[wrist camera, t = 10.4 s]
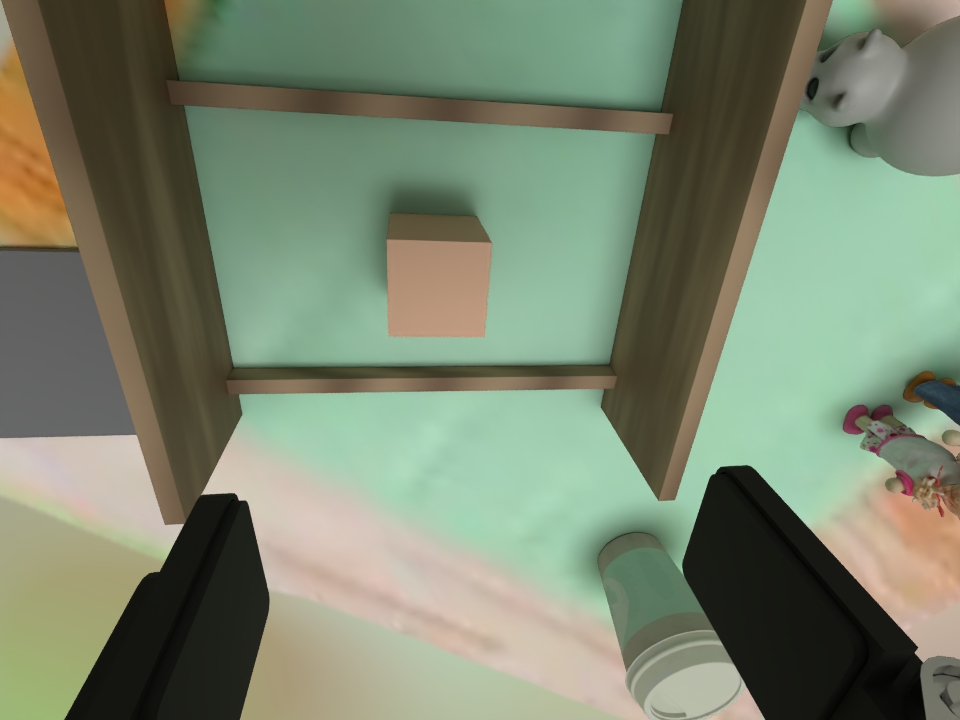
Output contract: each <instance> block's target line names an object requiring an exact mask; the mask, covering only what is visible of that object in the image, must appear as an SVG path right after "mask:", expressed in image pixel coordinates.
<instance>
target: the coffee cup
mask: <svg viewBox="0 0 960 720" xmlns="http://www.w3.org/2000/svg"><path fill="white" fill-rule="evenodd" d="M598 566H599V570H600V574H601V578H602V582H603V586H604V589H605V593H606V597H607V601H608V604H609V608H610V612H611V616H612V619H613V623H614V627H615V631H616V634H617V638H618V642H619V646H620V649H621V653H622V657H623V661H624V664H625V668H626V672H627V674H626V679H625V682H626V687H627V689H628V690H629V692H630V693H631V696H632V698H633V699H634V701H635V702H636V703H637V704H639V705H640V707H641V708H642V710H643V711H644V713H645V714H646V715H647V717H648V718H649V719H651V720H705V719H707V718H710V717H712V716H714V715H716V714H718V713H720V712H722V711H723V710H725V709H727V708H728V707H729V706H731V705H732V704H733V703H734V702H735V701H737V700H738V698H739V697H740V696H741V695H742V694H743V692H744V690H745V688H746V685H745V683H744V681H743V680H742V678H741V676H740V674H739V673H738V671H737V669H736V667H735V666H734V664H733V662H732V660H731V659H730V657H729V655H728V653H727V651H726V650H725V648H724V646H723V644H722V643H721V641H720V639H719V637H718V636H717V634H716V632H715V630H714V629H713V627H712V625H711V623H710V622H709V620H708V618H707V616H706V615H705V613H704V611H703V609H702V608H701V606H700V604H699V602H698V600H697V599H696V597H695V595H694V593H693V592H692V590H691V588H690V586H689V585H688V583H687V581H686V579H685V577H684V576H683V574H682V573H681V572H680V570H679V569H678V567H677V566H676V565H675V563H674V562H673V561H672V559H671V558H670V557H669V555H668V554H667V553H666V551H665V550H664V549H663V547H662V546H661V544H660V543H659V542H658V540H657V539H656V538H654V537H653V536H651V535H649V534H645V533H631V534H626V535H623V536H620V537H618V538H616V539H614V540H613V541H611V542H610V543H609V544H607V545H606V546H605V547H604V549H603V550H602V551H601V553H600V555H599V558H598Z"/></svg>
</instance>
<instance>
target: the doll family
mask: <svg viewBox="0 0 960 720" xmlns="http://www.w3.org/2000/svg"><path fill="white" fill-rule="evenodd" d="M903 398H904V399H905V400H907V401H910V402H921V401H923V400H924V405H925V406H927V407H929V408H932V409H939V410H941V411H942V412H944V413H945V414H946V415H947V416H949V417H950V418H951V419H952V420H953V421H954V422H955V423H957V424H958V425H960V386H959V385H956V384H955V382H954V381H953V380H952V379H948V378H945V379H941V380H939V381H936V377H935V375H934V374H933V373H932V372H929V371H925V372H922V373H920V374H919V375H918V376H917V377H916V378H915V379H914V380H913V381H912V382H911V383H910V384H909V386H908V387H907V388H906V389H905V391H904V394H903ZM843 430H844V432H846V433H849V434H861V433H863V432H866V433H867V434H866V435H865V437H864V439H863V441H862V442H861V445H860V448H861V449H863V450H867V451H870V452H873V453H876V455H877V456H878V457H881V458H883V459H885V460H886V461H887V462H888V463H890V464H891V465H892V466H893V467H894V468H895V469H897V471H896V472H895V473H896V475H897V477H896V478H889V479H888V480H887V481H886V482H885V485H886V488H887V489H888V490H889V491H890V492H893V493H899V492H901V493H903V494H905V495H908V496H914V497H915V498H913V500H912V502H913V501H916V500H917V501H919V502H920V503H922V506H923V507H924V509H926V510H927V509H929V510H930V509H931V508H934V507H938V509H939V512H940V515H941V517H944V511H943V509H942V508H941V506H940V499H939V497H942V499H943V502H944V504H945V505H946V506H947V508H948V509H949V510H950V511H951V512H952V513H954V514H955V515H957V516H958V518H959V520H960V453H959V454H958V456H957V457H956V458H957V459H958V460H957V459H955V457H954V455H953V454H952V453H951V452H949V451H948V450H946V449H945V448H944V447H942V446H941V445H939V444H936V443H934V442H932V441H929V440H927V439H926V438H925V437H924V436H921V435H917V434H916V433H915V432H914V431H913V430H912V429H911V428H908V427H907V426H906V425H905V424H903V423H902V422H900V421H899V420H897V419H896V418H894V417H893V411H892V409H891V407H890V406H888V405H883V406H880V407H878V408H877V409H876V410H875V411H874V412H873V414H872V416H871V419H870V418H869V413H868V409H867V407H866V406H864V405H858V406H855V407H853V408H852V409H850V410H849V412H848V413H847V416H846V418H845V422H844V424H843ZM942 440H943V442H944V443H945V444H947V445H950V446H960V432H958V431H955V430H947V431H945V432H944V433H943V435H942Z"/></svg>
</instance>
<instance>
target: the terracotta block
mask: <svg viewBox="0 0 960 720" xmlns="http://www.w3.org/2000/svg"><path fill="white" fill-rule="evenodd" d="M491 250H492V242H491V240H490V238H489V237H488V235H487V233H486V231H485V230H484V228H483V226H482V224H481V223H480V221H479V219H478V217H477V216H455V215H431V214H406V213H390V218H389V226H388V233H387V281H388V332H389V336H412V337H485V328H486V315H487V302H488V289H489V276H490V263H491Z"/></svg>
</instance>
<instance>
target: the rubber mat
mask: <svg viewBox="0 0 960 720" xmlns="http://www.w3.org/2000/svg"><path fill="white" fill-rule="evenodd" d="M106 435H137V434H136V431H135V427H134V424H133V421H132V418H131V415H130V411H129V408H128V405H127V402H126V398H125V395H124V392H123V389H122V386H121V382H120V379H119V376H118V373H117V370H116V366H115V363H114V360H113V357H112V354H111V350H110V347H109V344H108V341H107V338H106V334H105V331H104V328H103V325H102V322H101V318H100V315H99V312H98V309H97V306H96V302H95V299H94V296H93V293H92V290H91V286H90V283H89V280H88V277H87V274H86V270H85V267H84V264H83V261H82V257H81V254H80V251H79V249H46V248H1V247H0V438H25V437H66V436H106Z"/></svg>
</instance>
